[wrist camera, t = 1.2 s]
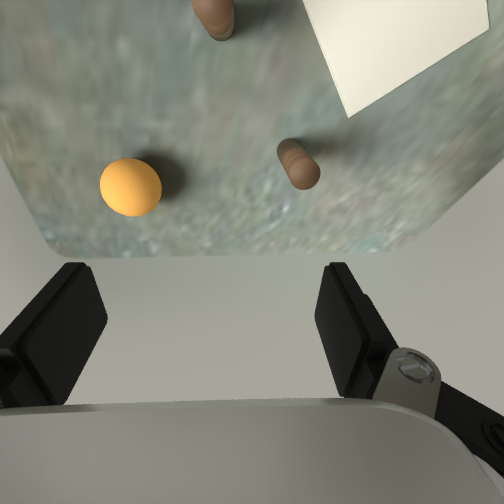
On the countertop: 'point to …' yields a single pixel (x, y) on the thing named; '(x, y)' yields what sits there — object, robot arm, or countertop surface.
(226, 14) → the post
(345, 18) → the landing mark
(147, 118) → the countertop surface
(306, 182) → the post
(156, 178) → the ball
